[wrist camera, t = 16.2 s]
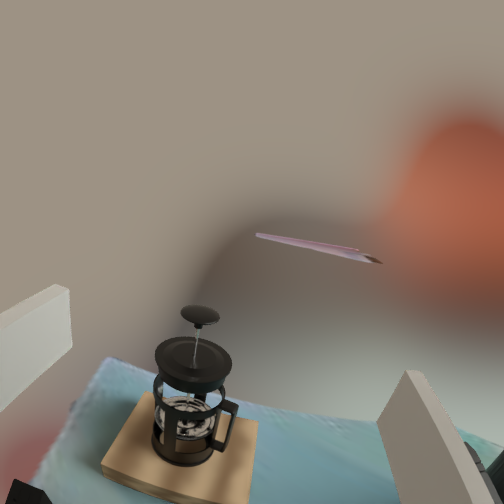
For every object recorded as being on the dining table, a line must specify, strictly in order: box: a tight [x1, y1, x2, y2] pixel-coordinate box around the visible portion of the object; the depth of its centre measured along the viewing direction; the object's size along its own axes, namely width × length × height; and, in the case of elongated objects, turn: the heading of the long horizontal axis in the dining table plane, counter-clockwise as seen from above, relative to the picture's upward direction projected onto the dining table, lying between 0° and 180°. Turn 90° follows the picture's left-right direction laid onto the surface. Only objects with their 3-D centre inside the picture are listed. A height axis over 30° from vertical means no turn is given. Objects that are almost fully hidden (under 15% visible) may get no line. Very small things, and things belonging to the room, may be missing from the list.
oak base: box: [100, 391, 259, 504], centre depth 37 cm, size 20×18×4 cm
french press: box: [151, 305, 239, 467], centre depth 34 cm, size 12×9×23 cm
